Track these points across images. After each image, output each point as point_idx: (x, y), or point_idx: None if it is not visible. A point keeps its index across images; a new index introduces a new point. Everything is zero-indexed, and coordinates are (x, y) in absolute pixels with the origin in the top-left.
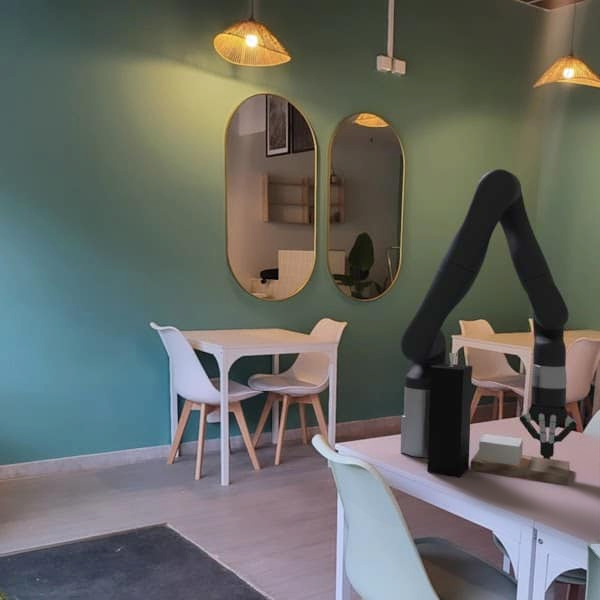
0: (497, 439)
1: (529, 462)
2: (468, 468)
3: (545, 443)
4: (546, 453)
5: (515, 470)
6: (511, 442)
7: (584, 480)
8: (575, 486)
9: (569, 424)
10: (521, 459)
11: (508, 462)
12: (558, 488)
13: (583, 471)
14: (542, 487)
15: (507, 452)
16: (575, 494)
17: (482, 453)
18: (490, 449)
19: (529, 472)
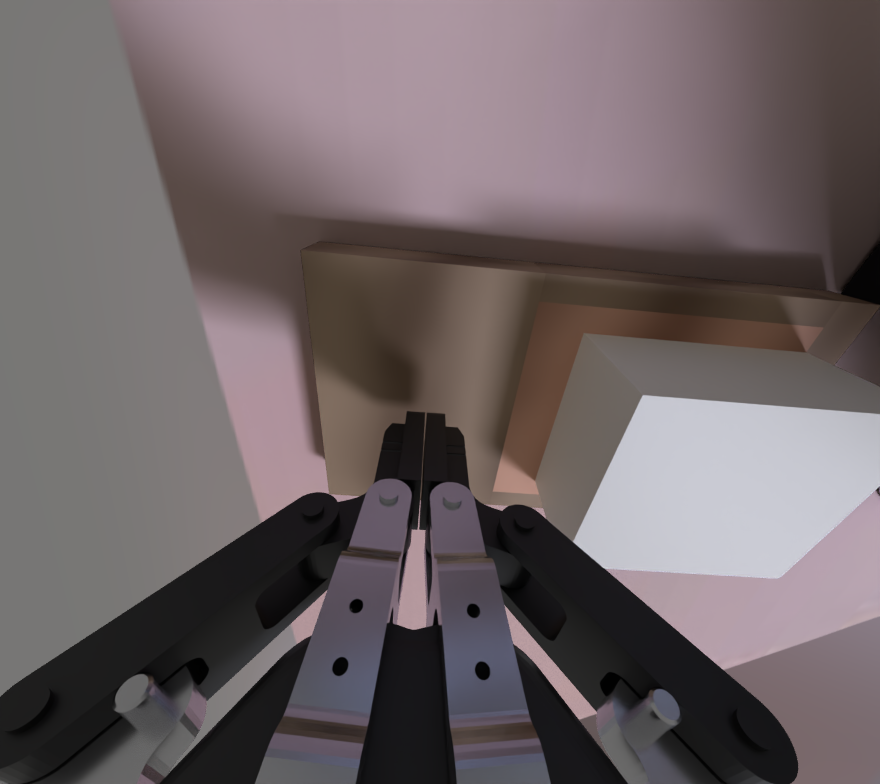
0: (748, 509)
1: (510, 417)
2: (848, 286)
3: (433, 480)
4: (426, 429)
5: (605, 275)
6: (667, 479)
7: (257, 358)
8: (274, 232)
9: (119, 709)
10: (544, 447)
11: (645, 342)
12: (355, 132)
13: (286, 470)
14: (451, 100)
15: (691, 372)
16: (237, 27)
17: (828, 370)
18: (810, 384)
19: (524, 269)
